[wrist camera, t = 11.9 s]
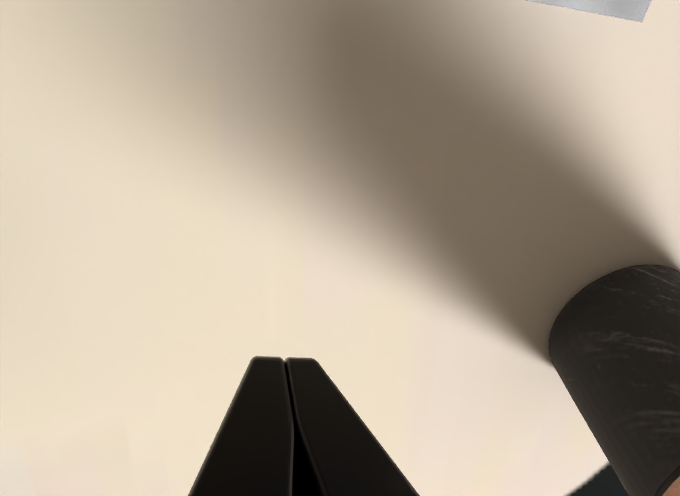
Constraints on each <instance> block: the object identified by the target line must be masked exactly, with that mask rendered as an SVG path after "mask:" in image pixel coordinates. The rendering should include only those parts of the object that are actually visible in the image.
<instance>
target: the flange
mask: <svg viewBox="0 0 680 496" xmlns="http://www.w3.org/2000/svg"><path fill="white" fill-rule="evenodd" d="M527 1H532V2H537V3H542V4H548V5H553V6H558V7H564V8H569V9H574V10H579V11H585V12H590V13H595V14H601V15H606V16H611V17H616V18H622V19H627V20H632V21H638V22H642V21H643V19H644V17H645V14H646V12H647V10H648V7H649V5H650V3H651V0H527Z"/></svg>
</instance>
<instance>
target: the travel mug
mask: <svg viewBox="0 0 680 496" xmlns="http://www.w3.org/2000/svg"><path fill="white" fill-rule="evenodd" d="M549 353H550V357H551V360H552V363H553V365H554V367H555V369H556V370H557V372H558V374H559V376H560V378H561V379H562V381H563V383H564V385H565V387H566V388H567V390H568V392H569V394H570V395H571V397H572V399H573V401H574V402H575V404H576V406H577V407H578V409H579V411H580V413H581V414H582V416H583V418H584V419H585V421H586V423H587V425H588V426H589V428H590V430H591V431H592V433H593V435H594V437H595V438H596V440H597V442H598V443H599V445H600V447H601V449H602V450H603V452H604V454H605V455H606V457H607V459H608V461H609V462H610V464H611V466H612V467H613V469H614V471H615V472H616V474H617V476H618V478H619V479H620V481H621V483H622V484H623V486H624V488H625V490H626V491H627V493H628V495H629V496H680V272H678V271H676V270H674V269H671V268H668V267H664V266H658V265H641V266H634V267H629V268H625V269H622V270H619V271H616V272H613V273H611V274H609V275H606V276H604V277H602V278H600V279H599V280H597V281H595V282H593V283H592V284H590V285H589V286H587V287H586V288H585V289H583V290H582V291H581V292H580V293H578V294H577V295H576V296H575V297H574V298H573V299H572V300H571V301H570V302H569V303H568V304H567V305H566V307H565V308H564V309H563V310H562V312H561V313H560V315H559V316H558V318H557V320H556V321H555V323H554V326H553V328H552V331H551V334H550V338H549Z"/></svg>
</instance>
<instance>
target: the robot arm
mask: <svg viewBox="0 0 680 496" xmlns="http://www.w3.org/2000/svg"><path fill="white" fill-rule="evenodd" d="M188 496H419V494H418V493H417V492H416V490H415V489H414V488H413V486H412V485H411V484H410V482H409V481H408V480H407V479H406V477H405V476H404V475H403V473H402V472H401V471H400V469H399V468H398V467H397V465H396V464H395V463H394V461H393V460H392V459H391V458H390V456H389V455H388V454H387V452H386V451H385V450H384V448H383V447H382V446H381V444H380V443H379V442H378V440H377V439H376V438H375V437H374V435H373V434H372V433H371V431H370V430H369V429H368V427H367V426H366V425H365V423H364V422H363V421H362V419H361V418H360V417H359V416H358V414H357V413H356V412H355V410H354V409H353V408H352V406H351V405H350V404H349V402H348V401H347V400H346V398H345V397H344V396H343V395H342V393H341V392H340V391H339V389H338V388H337V387H336V385H335V384H334V383H333V381H332V380H331V379H330V377H329V376H328V375H327V374H326V372H325V371H324V370H323V368H322V367H321V366H320V364H319V363H318V362H317V361H316V360H315V359H312V358H295V357H289V358H287V359H285V360H284V361H283V359H282V358H280V357H266V356H255V357H253V358H252V359H251V361H250V363H249V365H248V367H247V370H246V372H245V374H244V376H243V378H242V380H241V382H240V385H239V387H238V389H237V391H236V393H235V395H234V398H233V400H232V402H231V404H230V406H229V408H228V411H227V413H226V415H225V417H224V419H223V421H222V423H221V426H220V428H219V430H218V432H217V434H216V436H215V439H214V441H213V443H212V445H211V447H210V449H209V452H208V454H207V456H206V458H205V460H204V462H203V464H202V467H201V469H200V471H199V473H198V475H197V477H196V480H195V482H194V484H193V486H192V488H191V490H190V493H189V495H188Z"/></svg>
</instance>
